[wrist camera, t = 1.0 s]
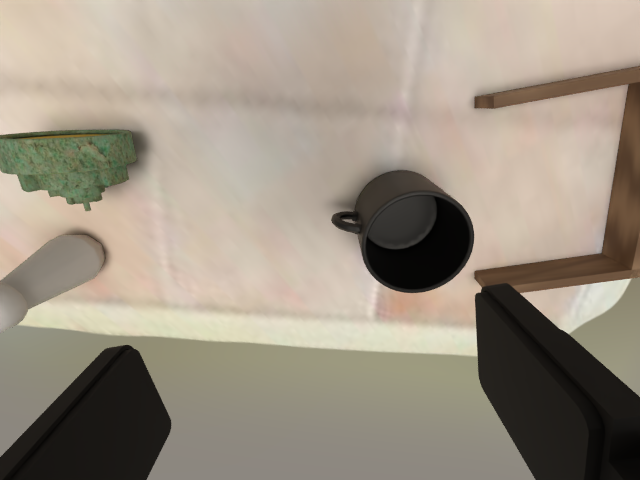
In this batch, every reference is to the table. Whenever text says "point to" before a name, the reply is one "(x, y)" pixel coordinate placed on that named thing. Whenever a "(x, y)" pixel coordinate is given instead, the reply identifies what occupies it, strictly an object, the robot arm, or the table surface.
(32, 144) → the decorative artifact
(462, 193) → the table surface
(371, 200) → the mug
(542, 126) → the table surface
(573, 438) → the robot arm
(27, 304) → the salt shaker
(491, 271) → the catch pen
